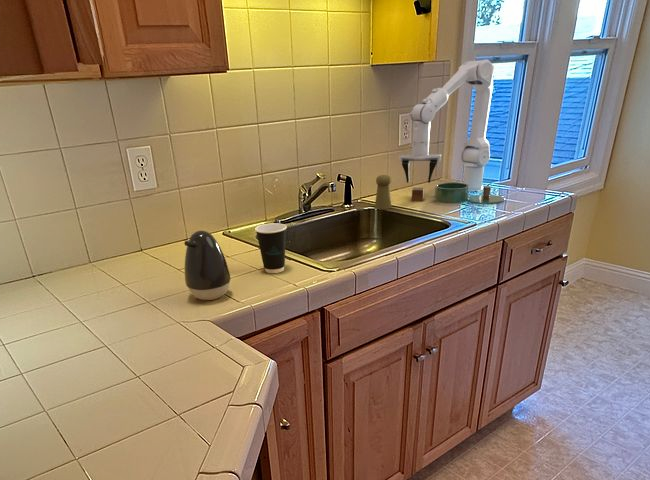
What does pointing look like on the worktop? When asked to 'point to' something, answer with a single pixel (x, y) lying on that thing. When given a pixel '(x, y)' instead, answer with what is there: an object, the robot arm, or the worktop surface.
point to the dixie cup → (272, 246)
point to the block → (417, 194)
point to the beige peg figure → (383, 192)
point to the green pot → (451, 193)
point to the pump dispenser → (205, 267)
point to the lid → (486, 197)
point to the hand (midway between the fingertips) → (418, 182)
